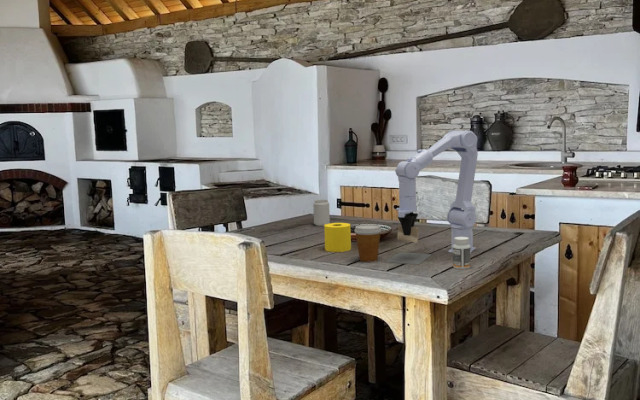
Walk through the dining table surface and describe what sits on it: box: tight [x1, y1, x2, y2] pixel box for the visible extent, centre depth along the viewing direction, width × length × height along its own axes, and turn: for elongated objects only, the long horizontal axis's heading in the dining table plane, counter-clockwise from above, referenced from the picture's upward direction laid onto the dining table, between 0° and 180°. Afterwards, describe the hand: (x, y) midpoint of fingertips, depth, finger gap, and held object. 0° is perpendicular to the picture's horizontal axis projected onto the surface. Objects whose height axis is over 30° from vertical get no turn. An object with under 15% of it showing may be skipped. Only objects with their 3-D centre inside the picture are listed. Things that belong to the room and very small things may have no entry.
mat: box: [385, 251, 433, 266], centre depth 216 cm, size 16×12×1 cm
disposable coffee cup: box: [354, 223, 382, 263], centre depth 216 cm, size 10×10×12 cm
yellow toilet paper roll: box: [323, 222, 352, 253], centre depth 236 cm, size 10×10×9 cm
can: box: [312, 199, 331, 227], centre depth 290 cm, size 8×8×12 cm
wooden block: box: [396, 224, 420, 244], centre depth 214 cm, size 2×7×5 cm, turn 63°
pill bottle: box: [452, 237, 472, 270], centre depth 201 cm, size 6×6×10 cm
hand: (408, 234), depth 214 cm, fingers closed on wooden block, 2 cm apart
